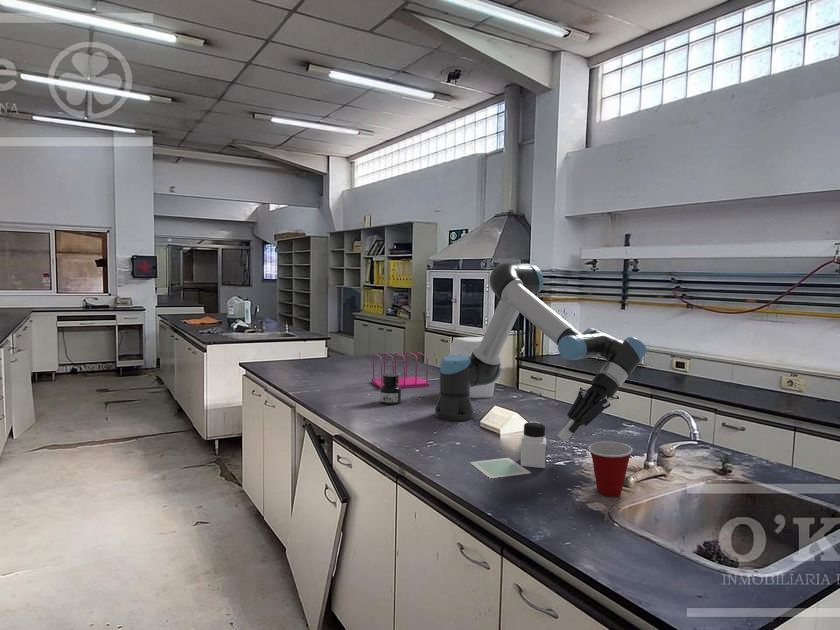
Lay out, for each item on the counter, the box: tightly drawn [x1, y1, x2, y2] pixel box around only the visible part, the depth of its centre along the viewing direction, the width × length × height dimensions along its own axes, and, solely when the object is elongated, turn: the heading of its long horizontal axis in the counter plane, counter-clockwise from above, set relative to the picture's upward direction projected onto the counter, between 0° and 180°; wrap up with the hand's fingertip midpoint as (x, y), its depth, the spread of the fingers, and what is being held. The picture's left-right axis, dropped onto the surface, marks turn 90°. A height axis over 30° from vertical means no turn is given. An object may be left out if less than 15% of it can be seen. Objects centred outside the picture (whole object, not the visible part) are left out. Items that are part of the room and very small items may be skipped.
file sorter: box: [370, 351, 430, 389], centre depth 265 cm, size 17×25×16 cm
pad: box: [469, 457, 532, 480], centre depth 154 cm, size 13×13×1 cm
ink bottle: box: [379, 373, 402, 405], centre depth 228 cm, size 10×9×12 cm
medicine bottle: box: [520, 421, 548, 469], centre depth 157 cm, size 7×7×12 cm
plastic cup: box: [587, 441, 634, 497], centre depth 137 cm, size 11×11×12 cm
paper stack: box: [448, 336, 502, 399], centre depth 246 cm, size 21×27×26 cm
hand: (561, 438), depth 160 cm, fingers closed
